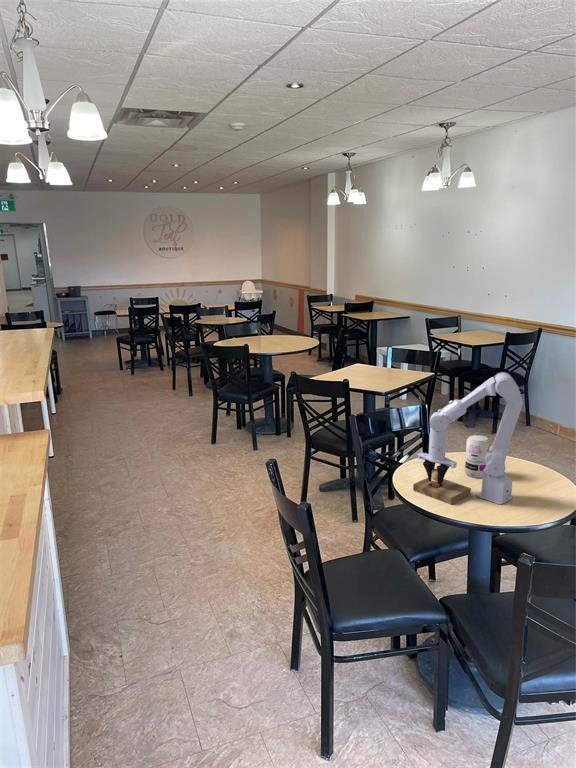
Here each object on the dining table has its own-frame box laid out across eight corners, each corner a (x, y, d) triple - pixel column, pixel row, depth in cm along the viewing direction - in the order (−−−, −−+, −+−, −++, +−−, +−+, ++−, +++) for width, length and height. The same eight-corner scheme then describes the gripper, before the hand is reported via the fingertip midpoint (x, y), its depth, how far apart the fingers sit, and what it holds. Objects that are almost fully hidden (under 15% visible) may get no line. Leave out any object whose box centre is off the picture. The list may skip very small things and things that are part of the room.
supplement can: (483, 470, 217) (486, 434, 214) (489, 479, 209) (491, 441, 206) (462, 470, 218) (465, 434, 215) (467, 478, 210) (469, 441, 207)
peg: (441, 485, 199) (442, 470, 197) (437, 488, 196) (438, 472, 195) (433, 483, 201) (434, 467, 199) (429, 486, 198) (429, 470, 197)
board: (470, 494, 196) (470, 488, 195) (451, 504, 188) (451, 497, 188) (432, 481, 208) (433, 475, 207) (413, 490, 200) (413, 483, 200)
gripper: (461, 447, 193) (459, 484, 196) (425, 438, 203) (424, 473, 206) (451, 453, 188) (449, 489, 191) (414, 443, 198) (413, 478, 201)
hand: (435, 481), depth 198 cm, fingers closed on peg, 3 cm apart
